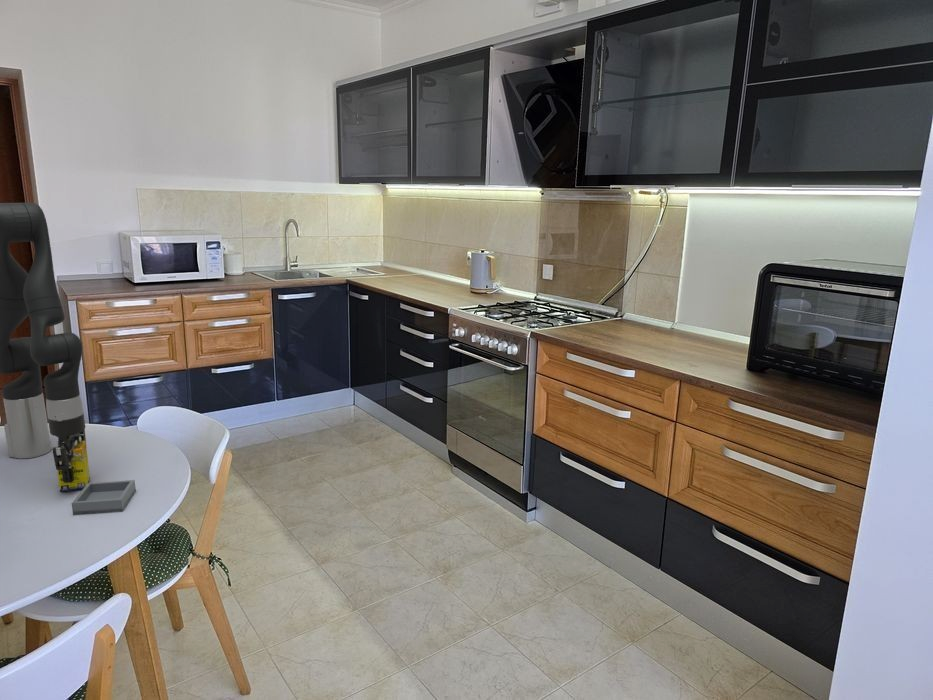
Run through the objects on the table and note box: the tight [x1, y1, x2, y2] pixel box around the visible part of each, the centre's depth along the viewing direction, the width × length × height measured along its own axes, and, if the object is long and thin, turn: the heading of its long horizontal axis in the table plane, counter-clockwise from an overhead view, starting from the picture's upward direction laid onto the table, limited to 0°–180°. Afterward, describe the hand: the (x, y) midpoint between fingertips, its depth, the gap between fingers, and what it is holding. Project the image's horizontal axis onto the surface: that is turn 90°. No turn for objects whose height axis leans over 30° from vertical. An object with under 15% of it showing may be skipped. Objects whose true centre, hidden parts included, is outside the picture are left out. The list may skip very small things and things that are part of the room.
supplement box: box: [56, 441, 91, 493], centre depth 160 cm, size 6×6×11 cm
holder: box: [71, 479, 137, 516], centre depth 153 cm, size 11×11×3 cm
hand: (74, 475), depth 160 cm, fingers closed on supplement box, 6 cm apart
